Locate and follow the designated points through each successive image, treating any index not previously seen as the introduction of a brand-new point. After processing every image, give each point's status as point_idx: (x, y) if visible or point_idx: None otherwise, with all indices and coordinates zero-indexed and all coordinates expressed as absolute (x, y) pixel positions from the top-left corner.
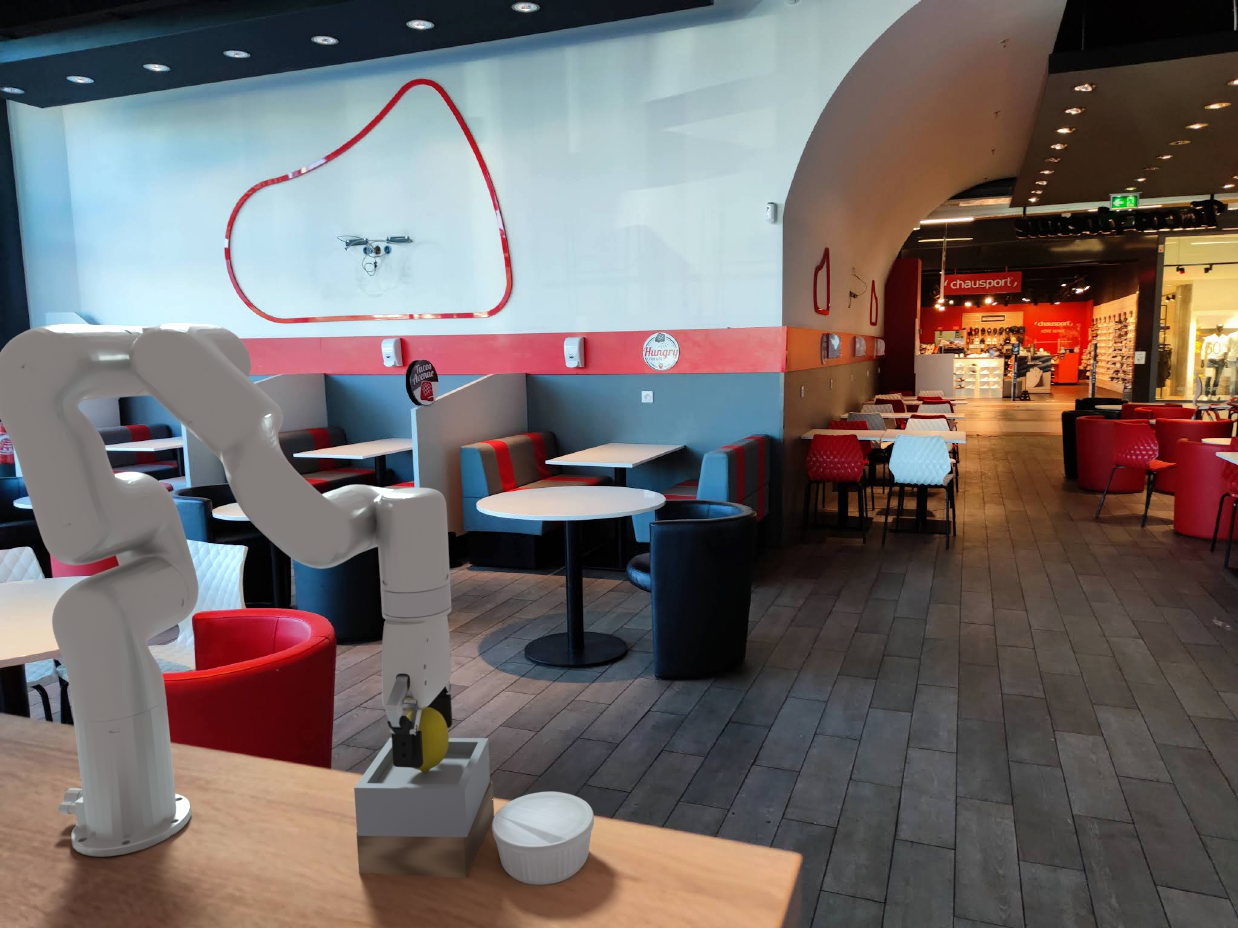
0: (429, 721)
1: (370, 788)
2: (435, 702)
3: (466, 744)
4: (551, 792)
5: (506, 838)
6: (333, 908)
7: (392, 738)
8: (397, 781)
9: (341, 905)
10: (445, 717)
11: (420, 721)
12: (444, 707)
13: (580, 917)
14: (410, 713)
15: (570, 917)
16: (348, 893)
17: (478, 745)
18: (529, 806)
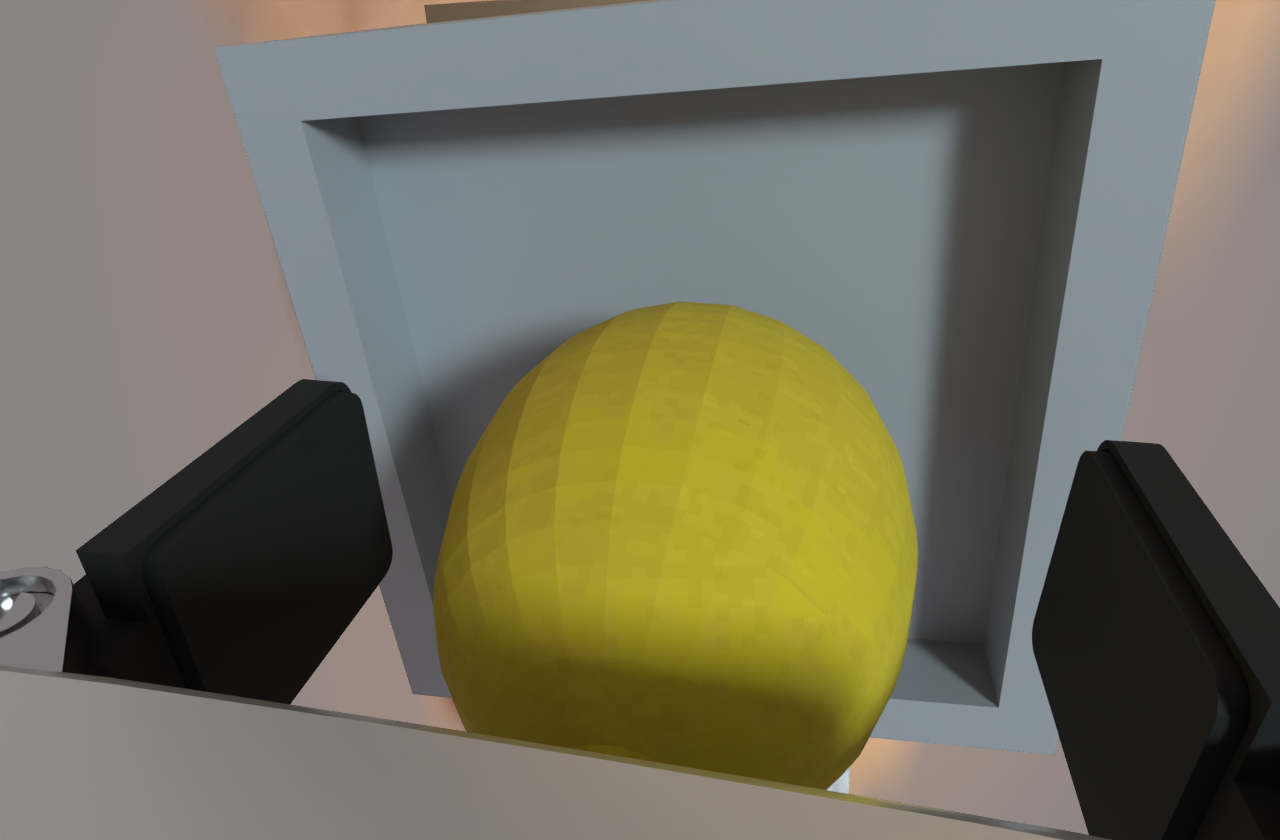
0: None
1: (256, 182)
2: (1146, 749)
3: (1006, 627)
4: (836, 789)
5: None
6: (279, 3)
7: (138, 511)
8: (576, 245)
9: (303, 30)
10: (1064, 685)
11: (467, 724)
12: (1093, 776)
13: (455, 715)
14: (569, 642)
15: (449, 697)
16: (372, 22)
17: (938, 712)
18: None
